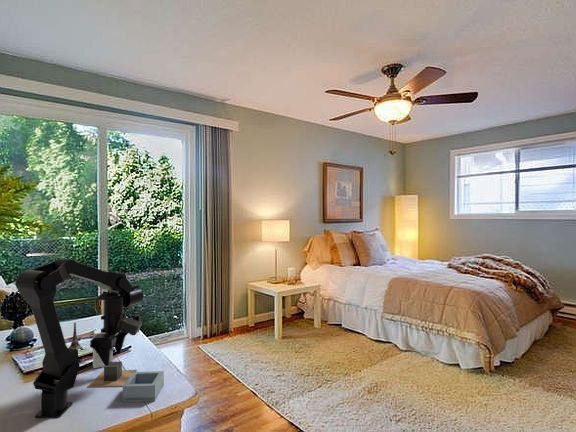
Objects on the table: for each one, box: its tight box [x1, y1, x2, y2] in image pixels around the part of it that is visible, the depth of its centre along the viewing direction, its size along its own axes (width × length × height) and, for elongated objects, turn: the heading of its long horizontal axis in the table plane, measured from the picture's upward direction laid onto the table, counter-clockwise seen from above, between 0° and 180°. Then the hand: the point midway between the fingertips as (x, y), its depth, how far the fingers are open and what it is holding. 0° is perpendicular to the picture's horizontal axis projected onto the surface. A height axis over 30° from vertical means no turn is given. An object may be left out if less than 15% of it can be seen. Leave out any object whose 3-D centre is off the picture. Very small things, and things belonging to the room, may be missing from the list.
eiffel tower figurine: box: [68, 322, 85, 351], centre depth 133 cm, size 15×10×13 cm
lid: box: [86, 361, 138, 389], centre depth 113 cm, size 11×11×5 cm
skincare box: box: [92, 328, 114, 369], centre depth 123 cm, size 6×4×12 cm
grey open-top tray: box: [122, 371, 165, 403], centre depth 104 cm, size 9×9×4 cm
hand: (113, 359), depth 113 cm, fingers open, 9 cm apart
